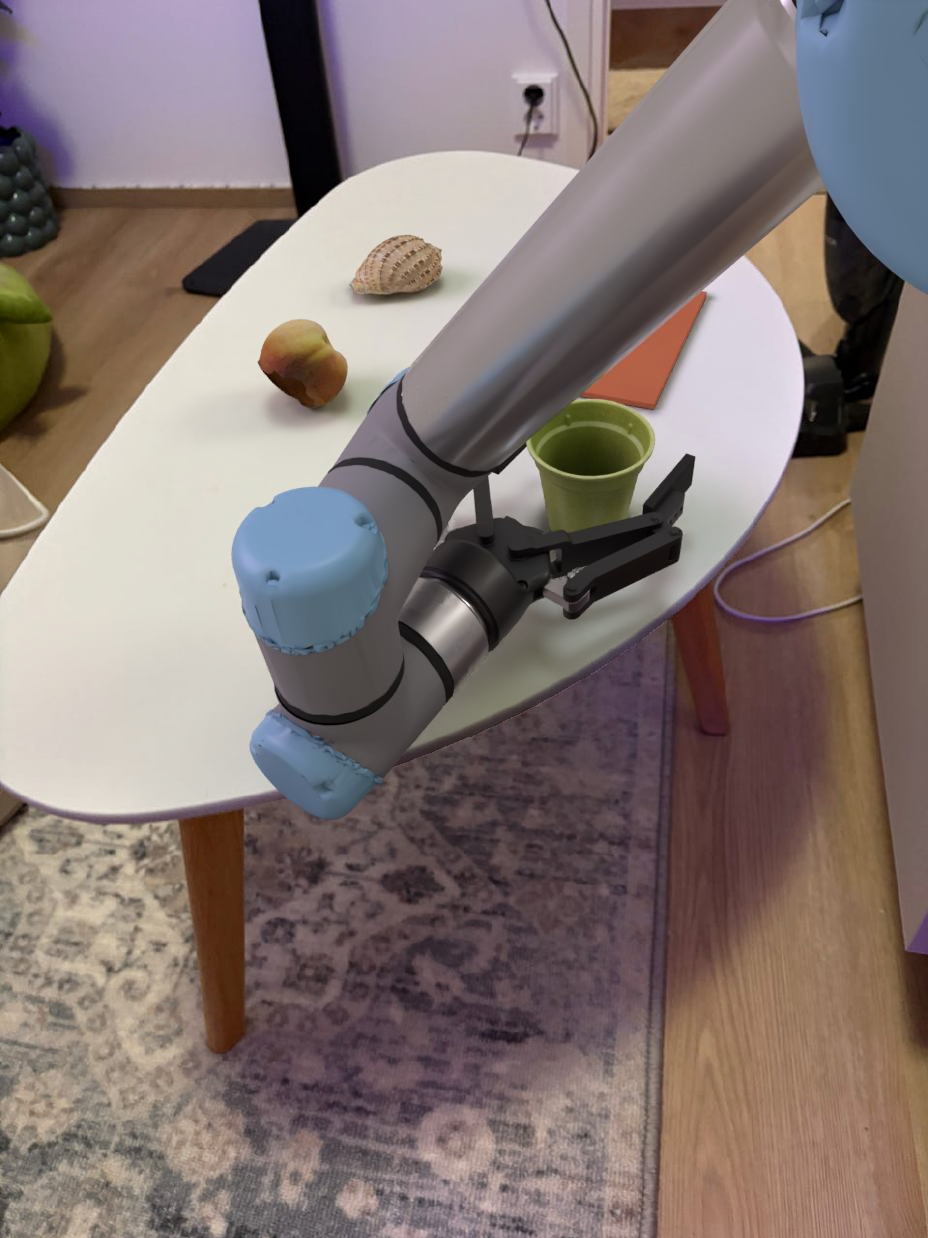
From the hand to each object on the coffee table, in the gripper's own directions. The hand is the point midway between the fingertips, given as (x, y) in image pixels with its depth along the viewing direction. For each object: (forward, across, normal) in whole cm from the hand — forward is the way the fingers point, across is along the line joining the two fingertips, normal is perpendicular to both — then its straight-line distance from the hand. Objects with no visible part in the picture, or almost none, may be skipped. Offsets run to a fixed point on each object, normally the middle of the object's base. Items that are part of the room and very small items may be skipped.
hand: (611, 440), depth 73 cm
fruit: (-2, -31, -6) cm, 32 cm away
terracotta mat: (+20, -15, -6) cm, 25 cm away
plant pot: (-3, 0, -6) cm, 7 cm away
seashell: (+18, -37, -6) cm, 41 cm away
